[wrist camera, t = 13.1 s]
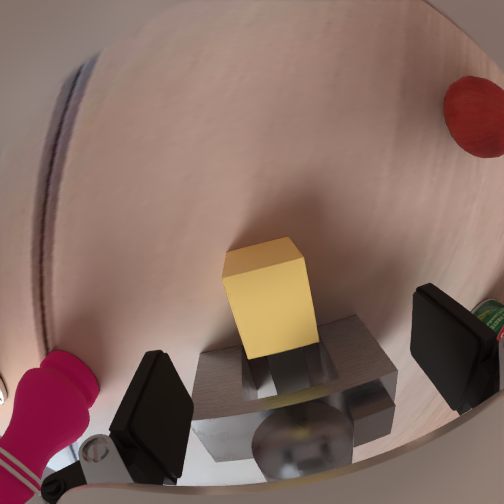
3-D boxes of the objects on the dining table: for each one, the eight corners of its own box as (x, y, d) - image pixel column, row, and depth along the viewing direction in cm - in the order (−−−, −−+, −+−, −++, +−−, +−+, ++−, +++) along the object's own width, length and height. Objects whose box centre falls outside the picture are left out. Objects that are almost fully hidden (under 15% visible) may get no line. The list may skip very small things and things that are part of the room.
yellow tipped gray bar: (285, 437, 23) (291, 472, 19) (226, 252, 18) (221, 278, 13) (323, 427, 23) (334, 462, 18) (287, 236, 17) (303, 257, 13)
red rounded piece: (470, 102, 15) (538, 93, 7) (470, 165, 16) (543, 173, 9) (421, 76, 14) (492, 49, 7) (421, 145, 16) (503, 141, 8)
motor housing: (220, 397, 21) (213, 519, 10) (199, 353, 19) (175, 491, 8) (359, 363, 20) (417, 471, 9) (356, 314, 19) (438, 429, 8)
